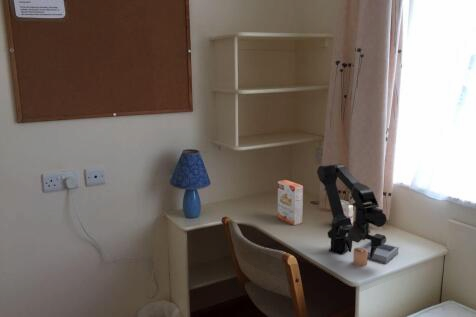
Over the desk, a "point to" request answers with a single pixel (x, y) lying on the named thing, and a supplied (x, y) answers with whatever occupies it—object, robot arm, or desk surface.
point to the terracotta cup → (360, 256)
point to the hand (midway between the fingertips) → (360, 254)
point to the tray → (381, 252)
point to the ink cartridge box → (347, 210)
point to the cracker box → (290, 202)
